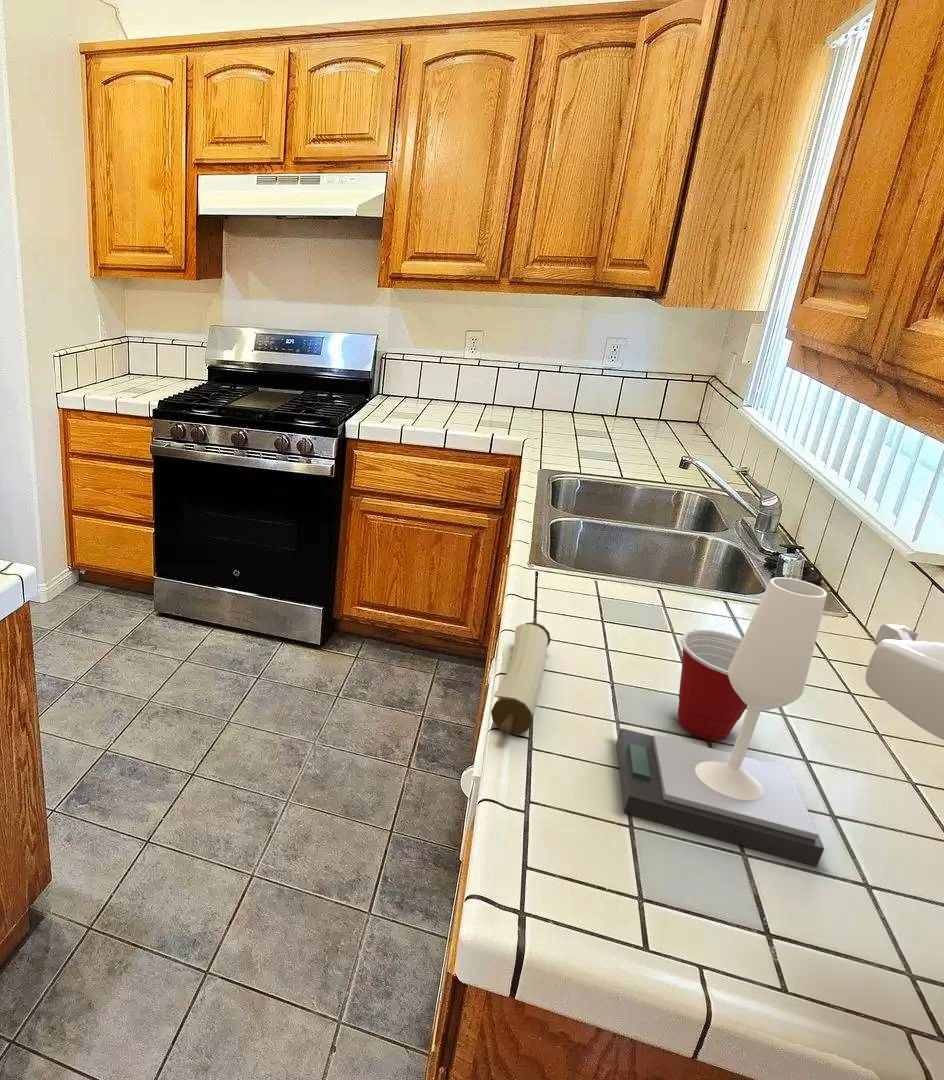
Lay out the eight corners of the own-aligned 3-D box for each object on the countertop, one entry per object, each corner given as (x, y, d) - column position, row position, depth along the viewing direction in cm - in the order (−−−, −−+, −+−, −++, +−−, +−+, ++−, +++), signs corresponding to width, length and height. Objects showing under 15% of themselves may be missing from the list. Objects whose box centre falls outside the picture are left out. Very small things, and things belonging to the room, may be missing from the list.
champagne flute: (685, 757, 88) (747, 570, 80) (748, 766, 87) (817, 577, 79) (708, 794, 82) (777, 596, 74) (776, 805, 81) (854, 605, 72)
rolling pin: (524, 755, 93) (532, 721, 91) (477, 740, 95) (484, 707, 93) (552, 645, 119) (558, 617, 117) (515, 636, 122) (521, 608, 120)
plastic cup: (702, 759, 94) (730, 675, 89) (639, 709, 103) (661, 632, 99) (772, 749, 96) (803, 668, 92) (704, 702, 106) (729, 626, 101)
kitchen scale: (782, 785, 89) (791, 763, 88) (817, 867, 77) (827, 842, 76) (616, 743, 96) (622, 722, 95) (623, 813, 84) (630, 789, 82)
